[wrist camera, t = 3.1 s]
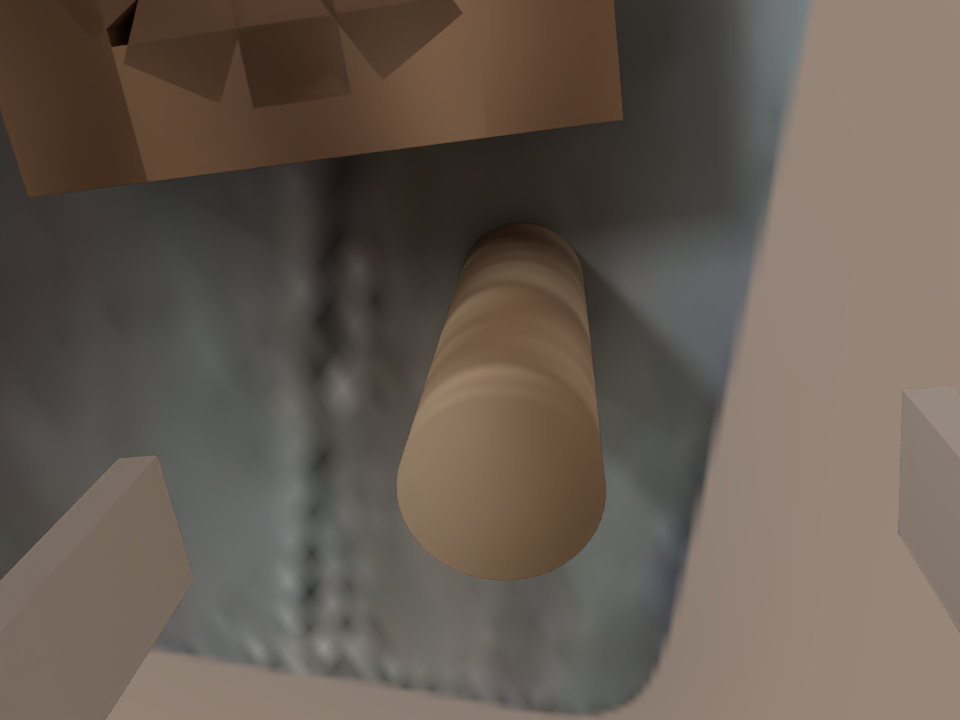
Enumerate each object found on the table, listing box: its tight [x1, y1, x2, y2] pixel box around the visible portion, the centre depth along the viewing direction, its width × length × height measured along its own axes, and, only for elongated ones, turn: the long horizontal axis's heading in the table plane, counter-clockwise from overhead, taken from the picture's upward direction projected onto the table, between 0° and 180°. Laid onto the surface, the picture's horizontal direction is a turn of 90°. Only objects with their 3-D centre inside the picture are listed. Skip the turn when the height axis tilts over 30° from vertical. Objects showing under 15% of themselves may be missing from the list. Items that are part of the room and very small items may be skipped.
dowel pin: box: [397, 223, 606, 580], centre depth 21 cm, size 4×4×12 cm
